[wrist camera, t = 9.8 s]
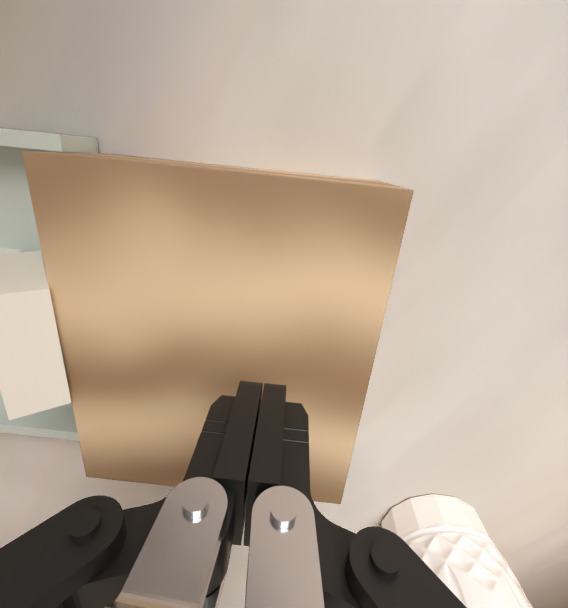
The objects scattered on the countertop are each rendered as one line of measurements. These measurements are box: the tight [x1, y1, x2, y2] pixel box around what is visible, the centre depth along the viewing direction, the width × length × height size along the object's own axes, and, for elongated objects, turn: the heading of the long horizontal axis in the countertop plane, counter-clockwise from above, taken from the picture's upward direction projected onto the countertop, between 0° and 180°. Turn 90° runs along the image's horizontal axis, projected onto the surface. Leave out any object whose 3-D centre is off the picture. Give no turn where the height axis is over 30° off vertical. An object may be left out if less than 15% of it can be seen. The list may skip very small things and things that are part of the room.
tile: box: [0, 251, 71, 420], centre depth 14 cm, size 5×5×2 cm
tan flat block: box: [22, 151, 413, 504], centre depth 15 cm, size 14×12×5 cm
